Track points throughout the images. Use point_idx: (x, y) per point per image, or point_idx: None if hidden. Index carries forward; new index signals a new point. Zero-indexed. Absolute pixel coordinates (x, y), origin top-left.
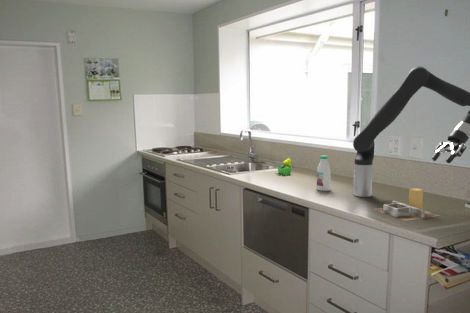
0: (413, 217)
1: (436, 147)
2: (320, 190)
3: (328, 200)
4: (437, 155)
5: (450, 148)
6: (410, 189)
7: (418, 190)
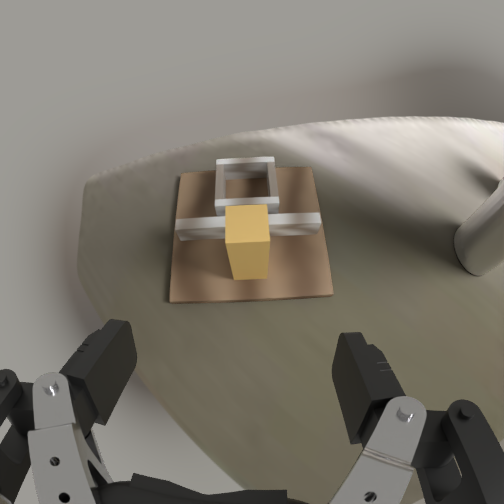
0: (193, 211)
1: (483, 450)
2: (498, 184)
3: (421, 146)
4: (354, 407)
5: (118, 496)
6: (260, 205)
7: (226, 218)
